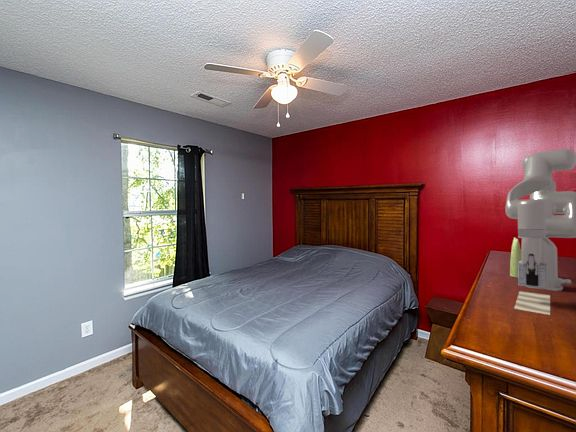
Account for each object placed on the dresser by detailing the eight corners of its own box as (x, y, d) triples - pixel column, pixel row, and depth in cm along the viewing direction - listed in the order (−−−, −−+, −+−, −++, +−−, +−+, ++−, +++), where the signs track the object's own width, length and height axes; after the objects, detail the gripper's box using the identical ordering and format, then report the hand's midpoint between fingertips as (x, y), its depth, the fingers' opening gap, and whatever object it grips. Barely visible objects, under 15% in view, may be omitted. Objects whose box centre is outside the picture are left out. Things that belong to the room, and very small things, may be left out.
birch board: (519, 294, 112) (519, 291, 112) (550, 299, 105) (550, 295, 105) (514, 312, 94) (514, 308, 94) (550, 319, 88) (550, 314, 88)
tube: (526, 277, 135) (525, 238, 134) (518, 278, 133) (517, 239, 133) (514, 275, 140) (514, 237, 140) (507, 276, 139) (506, 237, 138)
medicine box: (547, 286, 98) (547, 262, 98) (547, 289, 95) (547, 264, 95) (519, 283, 104) (518, 260, 104) (518, 285, 100) (517, 262, 100)
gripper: (519, 231, 108) (520, 277, 108) (516, 235, 96) (517, 287, 96) (546, 232, 102) (546, 280, 103) (545, 236, 90) (546, 291, 91)
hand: (532, 283), depth 99 cm, fingers closed on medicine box, 4 cm apart
